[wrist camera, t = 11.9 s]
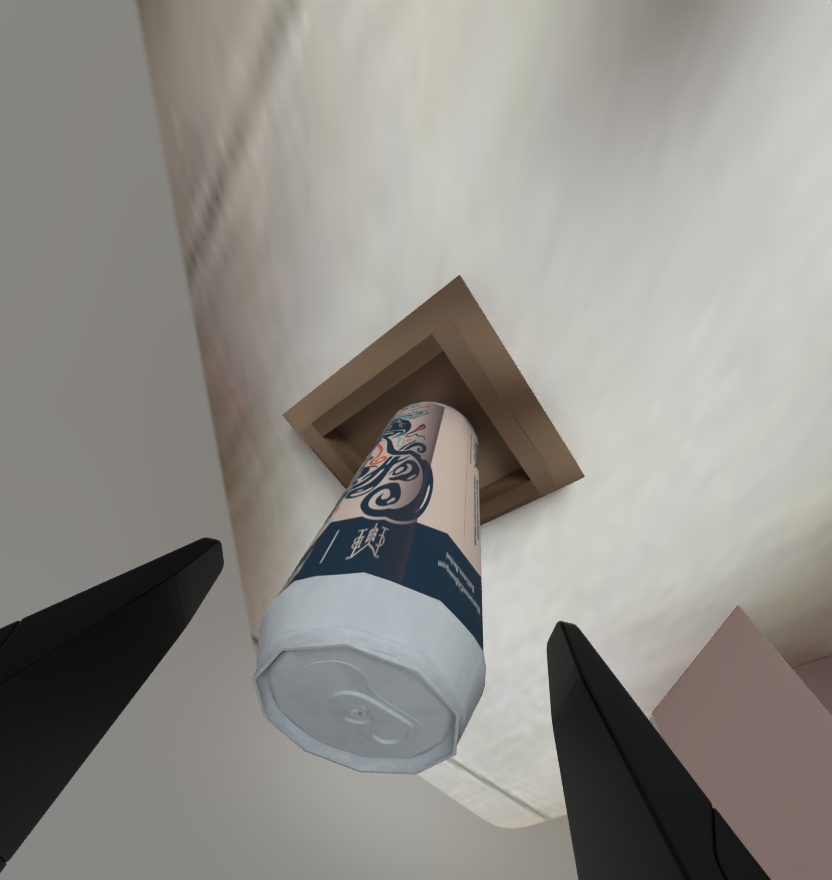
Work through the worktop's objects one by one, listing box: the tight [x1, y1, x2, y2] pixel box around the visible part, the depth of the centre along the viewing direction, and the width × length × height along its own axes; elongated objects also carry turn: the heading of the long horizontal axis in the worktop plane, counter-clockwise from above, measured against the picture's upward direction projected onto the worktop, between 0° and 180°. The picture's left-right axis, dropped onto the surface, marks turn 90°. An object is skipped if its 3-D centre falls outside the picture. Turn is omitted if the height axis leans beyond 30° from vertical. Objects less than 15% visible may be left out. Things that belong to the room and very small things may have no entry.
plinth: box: [283, 275, 585, 525], centre depth 17 cm, size 11×11×3 cm
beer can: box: [252, 402, 486, 774], centre depth 12 cm, size 5×5×12 cm
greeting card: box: [653, 605, 832, 880], centre depth 15 cm, size 11×7×15 cm, turn 136°
